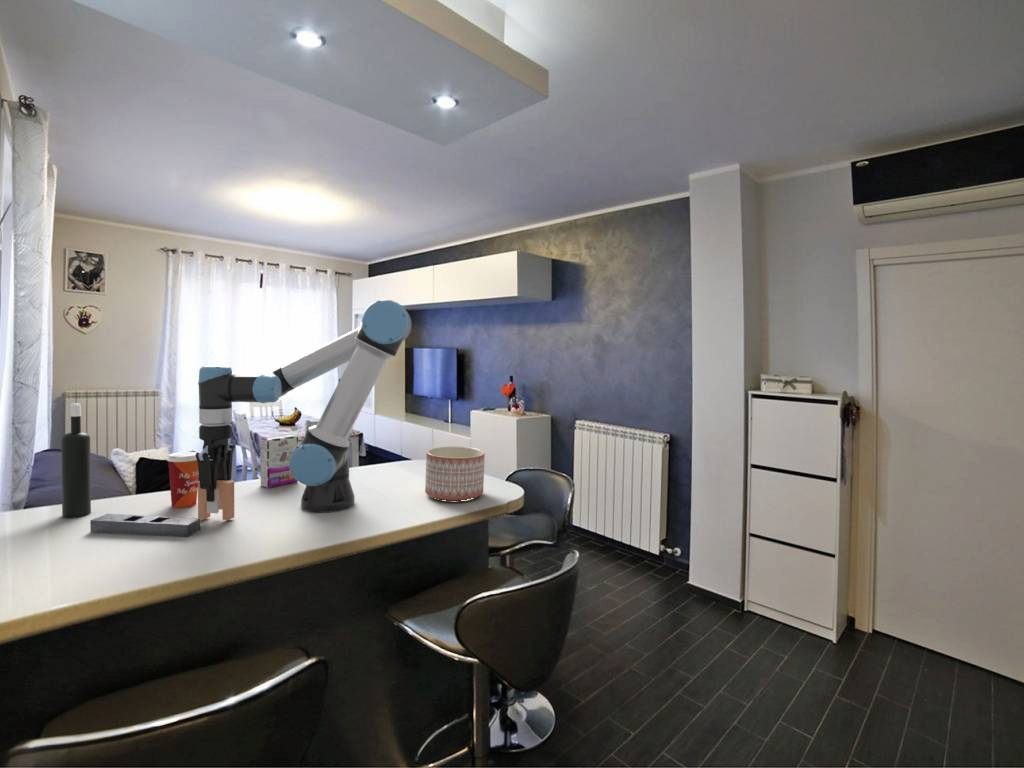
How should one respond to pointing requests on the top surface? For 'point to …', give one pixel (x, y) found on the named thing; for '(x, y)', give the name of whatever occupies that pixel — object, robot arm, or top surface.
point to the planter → (454, 473)
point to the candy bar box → (277, 460)
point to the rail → (145, 525)
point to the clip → (224, 497)
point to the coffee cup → (183, 479)
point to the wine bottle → (76, 468)
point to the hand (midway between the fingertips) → (216, 510)
